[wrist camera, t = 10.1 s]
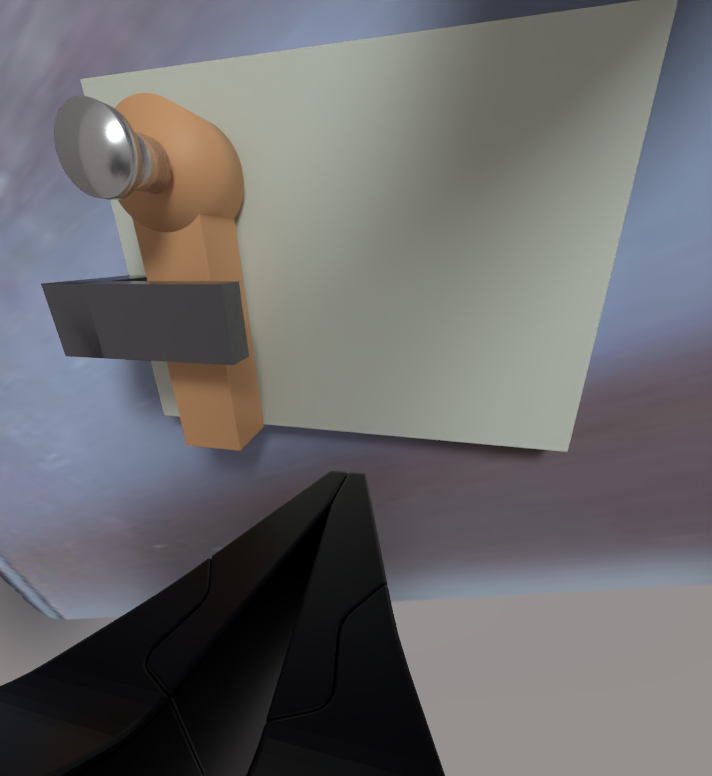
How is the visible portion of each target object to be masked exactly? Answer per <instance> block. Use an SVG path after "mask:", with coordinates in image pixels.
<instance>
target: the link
mask: <svg viewBox="0 0 712 776" xmlns="http://www.w3.org/2000/svg"><path fill="white" fill-rule="evenodd" d="M115 109H116V110H118V111H119V112H120V113H121V114H122V115H123V116H124V117H125V118H126V119H127V121H128V122H129V123H130V125H131V126H132V128H133V130H134V131H137V132H139V133H142V134H145V135H147V136H150V137H152V138H154V139H156V140H157V141H158V142H159V143H160V144H161V145H162V146H163V147H164V149H165V150H166V152H167V154H168V157H169V160H170V164H171V177H170V181H169V184H168V185H167V187H166V188H165V189H164V190H163V191H162V192H160V193H157V194H151V193H145V192H140V191H134V192H133V193H132V194H131V195H130V196H128V197H127V198H125V199H122V200H118V201H119V203H120V204H121V206H122V207H123V208H124V210H125V211H126V212H127V213H128V214H129V215H130V216H131V217H132V219H133V223H134V227H135V232H136V236H137V240H138V244H139V248H140V252H141V257H142V261H143V265H144V269H145V273H146V277H147V281H239V286H240V293H241V300H242V308H243V315H244V322H245V329H246V337H247V344H248V351H249V357H247V358H246V359H244V360H242V361H240V362H239V363H237V364H235V365H220V364H202V363H183V362H167V365H168V369H169V373H170V377H171V382H172V386H173V390H174V394H175V398H176V402H177V407H178V411H179V415H180V419H181V423H182V427H183V432H184V436H185V440H186V444H187V445H188V446H198V447H208V448H218V449H228V450H238V451H241V450H242V449H243V448H244V447H245V446H246V445H247V444H248V443H249V442H250V441H251V440H252V438H253V437H254V436H255V435H256V434H257V433H258V432H259V431H260V430H261V429H262V428H263V427H264V425H263V418H262V411H261V404H260V397H259V390H258V383H257V376H256V369H255V361H254V354H253V347H252V340H251V333H250V326H249V319H248V312H247V305H246V298H245V291H244V284H243V277H242V270H241V263H240V256H239V248H238V241H237V234H236V227H235V220H234V218H235V217H236V215H237V213H238V211H239V209H240V206H241V203H242V199H243V192H244V178H243V171H242V166H241V163H240V159H239V157H238V154H237V152H236V150H235V148H234V146H233V145H232V143H231V142H230V140H229V139H228V137H227V136H226V135H225V134H224V133H223V132H222V131H221V130H220V129H219V128H218V127H216V126H215V125H214V124H212V123H210V122H209V121H207V120H205V119H203V118H201V117H199V116H198V115H196V114H194V113H192V112H190V111H188V110H187V109H185V108H183V107H181V106H179V105H177V104H176V103H174V102H172V101H170V100H168V99H166V98H164V97H162V96H160V95H156V94H152V93H138V94H133V95H131V96H129V97H126V98H125V99H124V100H122V101H121V102H120V103H119V104H118V105H117V106H116V107H115Z"/></svg>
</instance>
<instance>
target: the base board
mask: <svg viewBox="0 0 712 776" xmlns="http://www.w3.org/2000/svg"><path fill="white" fill-rule="evenodd" d="M677 3H678V0H637V1H630V2H623V3H616V4H609V5H602V6H595V7H588V8H581V9H573V10H566V11H559V12H552V13H545V14H538V15H531V16H524V17H517V18H510V19H503V20H496V21H489V22H482V23H475V24H467V25H460V26H453V27H446V28H439V29H432V30H425V31H418V32H411V33H404V34H397V35H390V36H383V37H376V38H369V39H361V40H354V41H347V42H340V43H333V44H326V45H319V46H312V47H305V48H298V49H291V50H284V51H277V52H270V53H263V54H255V55H248V56H241V57H234V58H227V59H220V60H213V61H206V62H199V63H192V64H185V65H178V66H171V67H164V68H157V69H150V70H142V71H135V72H128V73H121V74H114V75H107V76H100V77H93V78H86V79H80V80H81V84H82V88H83V92H84V96H88V97H91V98H94V99H96V100H98V101H101V102H103V103H105V104H108V105H110V106H112V107H113V108H115V107H116V106H117V105H118V104H119V103H120V102H121V101H122V100H124V99H125V98H126V97H129V96H131V95H133V94H138V93H152V94H156V95H160V96H162V97H164V98H166V99H168V100H170V101H172V102H174V103H176V104H177V105H179V106H181V107H183V108H185V109H187V110H188V111H190V112H192V113H194V114H196V115H198V116H199V117H201V118H203V119H205V120H207V121H209V122H210V123H212V124H214V125H215V126H216V127H218V128H219V129H220V130H221V131H222V132H223V133H224V134H225V135H226V136H227V137H228V139H229V140H230V142H231V143H232V145H233V146H234V148H235V150H236V152H237V154H238V157H239V159H240V163H241V166H242V171H243V178H244V192H243V199H242V203H241V206H240V209H239V211H238V213H237V215H236V217H235V218H234V220H235V227H236V234H237V241H238V248H239V256H240V263H241V270H242V277H243V284H244V291H245V298H246V305H247V312H248V319H249V326H250V333H251V340H252V347H253V354H254V361H255V369H256V376H257V383H258V390H259V397H260V404H261V411H262V418H263V424H267V425H278V426H289V427H300V428H311V429H322V430H333V431H344V432H355V433H366V434H377V435H388V436H399V437H410V438H421V439H432V440H443V441H454V442H465V443H476V444H487V445H498V446H509V447H520V448H531V449H542V450H553V451H564V452H568V448H569V444H570V439H571V435H572V431H573V427H574V423H575V419H576V415H577V411H578V407H579V403H580V399H581V395H582V390H583V386H584V382H585V378H586V374H587V370H588V366H589V362H590V358H591V354H592V350H593V346H594V341H595V337H596V333H597V329H598V325H599V321H600V317H601V313H602V309H603V305H604V301H605V297H606V293H607V288H608V284H609V280H610V276H611V272H612V268H613V264H614V260H615V256H616V252H617V248H618V244H619V239H620V235H621V231H622V227H623V223H624V219H625V215H626V211H627V207H628V203H629V199H630V195H631V191H632V186H633V182H634V178H635V174H636V170H637V166H638V162H639V158H640V154H641V150H642V146H643V142H644V137H645V133H646V129H647V125H648V121H649V117H650V113H651V109H652V105H653V101H654V97H655V93H656V89H657V84H658V80H659V76H660V72H661V68H662V64H663V60H664V56H665V52H666V48H667V44H668V40H669V35H670V31H671V27H672V23H673V19H674V15H675V11H676V7H677ZM111 204H112V208H113V212H114V216H115V220H116V224H117V228H118V232H119V236H120V240H121V244H122V248H123V252H124V256H125V260H126V264H127V268H128V272H129V275H146V273H145V269H144V265H143V261H142V257H141V252H140V248H139V244H138V240H137V236H136V232H135V227H134V223H133V219H132V217H131V216H130V215H129V214H128V213H127V212H126V211H125V210H124V208H123V207H122V206H121V204H120V203H119V201H118V200H111ZM151 364H152V368H153V372H154V376H155V380H156V384H157V388H158V392H159V396H160V400H161V404H162V408H163V413H164V415H168V416H179V417H180V415H179V411H178V407H177V402H176V398H175V394H174V390H173V386H172V382H171V377H170V373H169V369H168V365H167V362H165V361H151Z"/></svg>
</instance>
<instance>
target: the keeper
mask: <svg viewBox="0 0 712 776" xmlns="http://www.w3.org/2000/svg"><path fill="white" fill-rule="evenodd" d="M54 141H55V147H56V151H57V155H58V158H59V160H60V163H61V165H62V167H63V169H64V171H65V172H66V174H67V175H68V177H69V178H70V179H71V181H72V182H73V183H74V184H75V185H76V186H77V187H78V188H79V189H80V190H82V191H83V192H85V193H86V194H88V195H90V196H93V197H96V198H102V199H109V200H122V199H125V198H127V197H128V196H130V195H131V194H132V193H133V192H134V191H140V192H145V193H151V194H157V193H160V192H162V191H163V190H164V189H165V188H166V187H167V185H168V184H169V181H170V177H171V164H170V160H169V157H168V154H167V152H166V150H165V149H164V147H163V146H162V145H161V144H160V143H159V142H158V141H157V140H156V139H154V138H152V137H150V136H147V135H145V134H142V133H139V132H137V131H134V130H133V128H132V126H131V125H130V123H129V122H128V121H127V119H126V118H125V117H124V116H123V115H122V114H121V113H120V112H119V111H118V110H116V109H115V108H113V107H112V106H110V105H108V104H105V103H103V102H101V101H98V100H96V99H94V98H91V97H88V96H75V97H72V98H70V99H68V100H67V101H66V102H64V104H63V105H62V106H61V107H60V109H59V111H58V113H57V116H56V119H55V124H54ZM41 285H42V288H43V291H44V294H45V297H46V300H47V303H48V305H49V308H50V311H51V314H52V317H53V320H54V323H55V326H56V329H57V332H58V335H59V338H60V340H61V343H62V346H63V349H64V352H65V355H66V356H74V357H92V358H110V359H129V360H147V361H165V362H183V363H202V364H220V365H235V364H237V363H239V362H240V361H242V360H244V359H246V358H247V357H249V351H248V344H247V337H246V329H245V322H244V315H243V308H242V300H241V293H240V286H239V281H147V277H146V275H128V276H118V277H107V278H97V279H86V280H76V281H65V282H55V283H44V284H41Z"/></svg>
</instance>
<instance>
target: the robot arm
mask: <svg viewBox="0 0 712 776" xmlns="http://www.w3.org/2000/svg"><path fill="white" fill-rule="evenodd" d="M0 776H445V774H444V771H443V768H442V765H441V762H440V759H439V756H438V753H437V751H436V748H435V745H434V742H433V739H432V736H431V733H430V730H429V727H428V724H427V721H426V718H425V716H424V713H423V710H422V707H421V704H420V701H419V698H418V695H417V692H416V689H415V687H414V683H413V680H412V677H411V674H410V671H409V668H408V665H407V662H406V658H405V655H404V652H403V649H402V646H401V642H400V639H399V636H398V632H397V627H396V623H395V618H394V614H393V610H392V606H391V600H390V595H389V590H388V587H387V581H386V575H385V570H384V565H383V560H382V555H381V550H380V544H379V539H378V534H377V529H376V524H375V519H374V514H373V508H372V503H371V498H370V493H369V488H368V483H367V477H366V475H365V474H364V473H352V472H351V473H349V474H348V473H347V472H341V471H331V472H329V473H327V474H326V475H325V476H323V477H322V478H320V479H319V480H318V481H316V482H315V483H313V484H312V485H311V486H309V487H308V488H306V489H305V490H304V491H302V492H301V493H299V494H298V495H297V496H295V497H294V498H292V499H291V500H290V501H288V502H287V503H285V504H284V505H283V506H281V507H280V508H278V509H277V510H276V511H274V512H273V513H271V514H270V515H269V516H267V517H266V518H265V519H263V520H262V521H260V522H259V523H258V524H256V525H255V526H253V527H252V528H251V529H249V530H248V531H246V532H245V533H244V534H242V535H241V536H239V537H238V538H237V539H235V540H234V541H232V542H231V543H230V544H228V545H227V546H225V547H224V548H223V549H221V550H220V551H218V552H217V553H216V554H214V555H213V556H212V559H207V560H206V561H204V562H203V563H201V564H200V565H199V566H197V567H196V568H194V569H193V570H192V571H190V572H189V573H187V574H186V575H184V576H183V577H181V578H180V579H179V580H177V581H176V582H174V583H173V584H171V585H170V586H168V587H167V588H165V589H164V590H162V591H161V592H159V593H158V594H156V595H155V596H153V597H151V598H150V599H148V600H147V601H145V602H144V603H142V604H140V605H139V606H137V607H136V608H134V609H133V610H131V611H129V612H128V613H126V614H125V615H123V616H121V617H120V618H118V619H116V620H115V621H113V622H112V623H110V624H108V625H107V626H105V627H103V628H102V629H100V630H99V631H97V632H95V633H94V634H92V635H90V636H89V637H87V638H86V639H84V640H82V641H81V642H79V643H77V644H76V645H74V646H73V647H71V648H69V649H68V650H66V651H64V652H63V653H61V654H60V655H58V656H56V657H55V658H53V659H52V660H50V661H48V662H47V663H45V664H43V665H41V666H40V667H38V668H36V669H34V670H33V671H31V672H29V673H27V674H25V675H23V676H21V677H19V678H17V679H15V680H13V681H11V682H9V683H6V684H4V685H2V686H0Z"/></svg>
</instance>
